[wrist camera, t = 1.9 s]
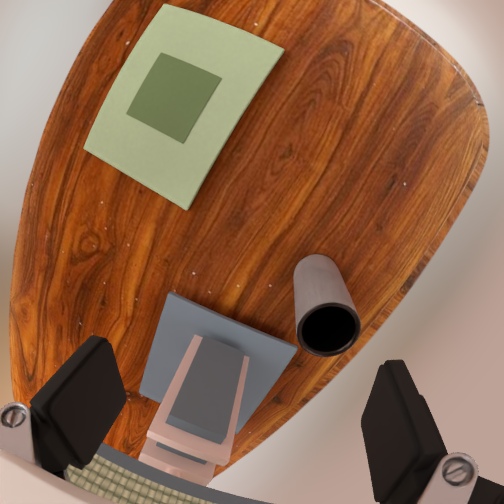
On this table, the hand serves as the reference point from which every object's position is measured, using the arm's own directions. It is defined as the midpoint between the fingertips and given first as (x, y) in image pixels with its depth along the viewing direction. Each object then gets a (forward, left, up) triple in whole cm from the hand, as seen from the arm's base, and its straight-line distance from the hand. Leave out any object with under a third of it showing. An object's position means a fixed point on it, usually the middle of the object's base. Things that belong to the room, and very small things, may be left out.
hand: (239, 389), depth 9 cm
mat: (-7, -15, -20) cm, 26 cm away
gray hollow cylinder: (+1, +6, -20) cm, 21 cm away
